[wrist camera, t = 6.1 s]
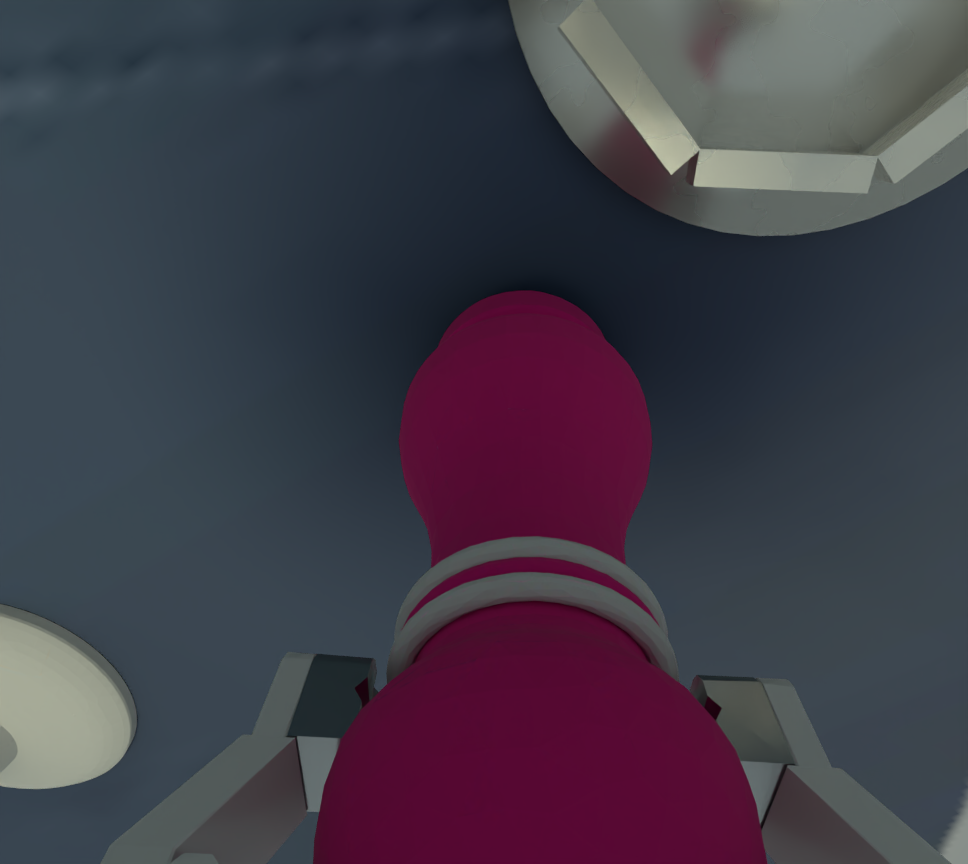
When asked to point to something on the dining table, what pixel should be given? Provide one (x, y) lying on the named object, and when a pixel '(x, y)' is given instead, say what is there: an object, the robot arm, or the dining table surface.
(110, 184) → the dining table surface
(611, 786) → the pepper mill
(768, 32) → the silver metal plate
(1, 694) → the candlestick
